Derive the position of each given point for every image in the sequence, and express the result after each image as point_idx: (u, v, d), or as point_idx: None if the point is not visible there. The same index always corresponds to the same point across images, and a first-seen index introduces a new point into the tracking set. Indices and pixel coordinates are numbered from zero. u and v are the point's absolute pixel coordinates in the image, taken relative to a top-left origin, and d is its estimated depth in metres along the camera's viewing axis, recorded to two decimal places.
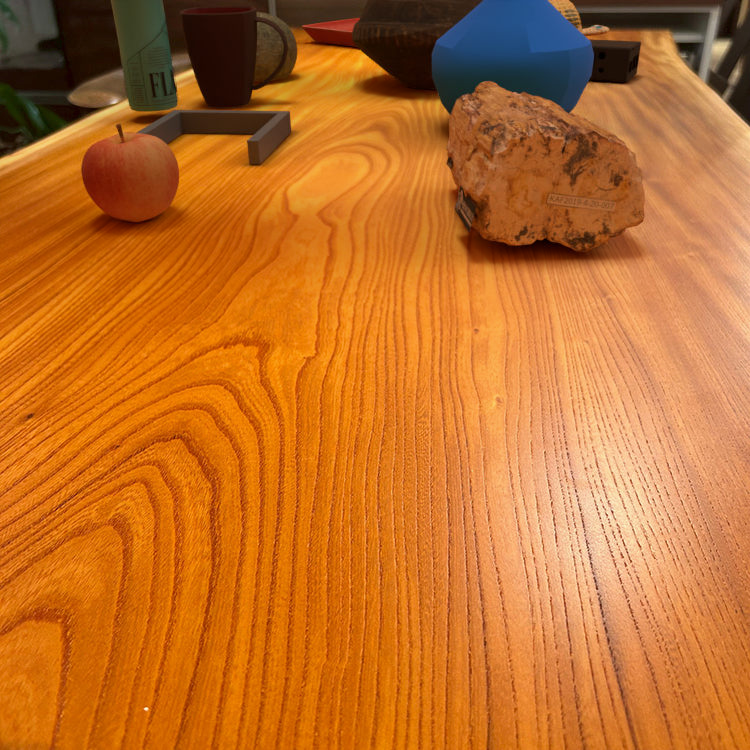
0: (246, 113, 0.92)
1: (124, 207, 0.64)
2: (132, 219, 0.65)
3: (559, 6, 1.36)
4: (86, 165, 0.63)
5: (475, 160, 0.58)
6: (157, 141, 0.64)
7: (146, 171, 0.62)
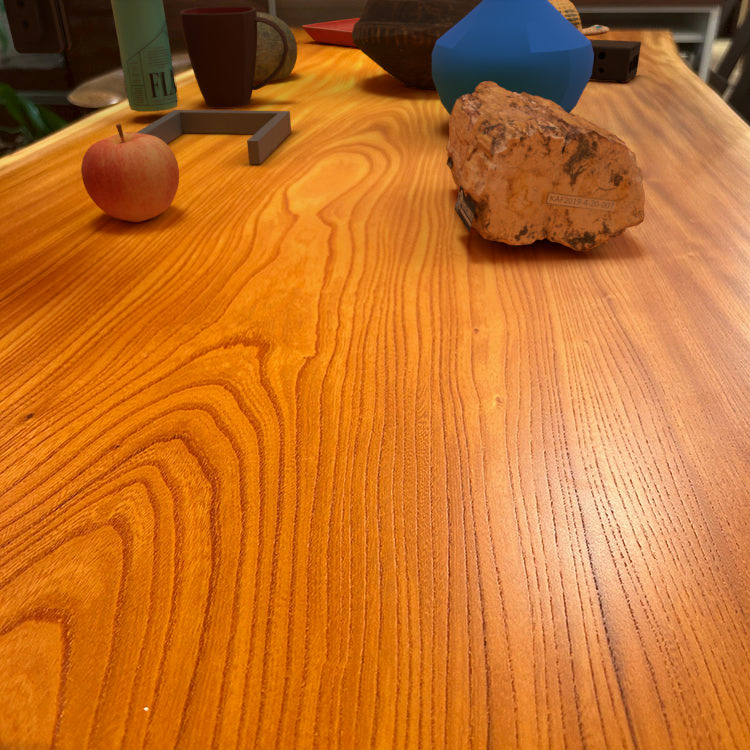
0: (246, 113, 0.92)
1: (124, 207, 0.64)
2: (132, 219, 0.65)
3: (559, 6, 1.36)
4: (86, 165, 0.63)
5: (475, 160, 0.58)
6: (157, 141, 0.64)
7: (146, 171, 0.62)
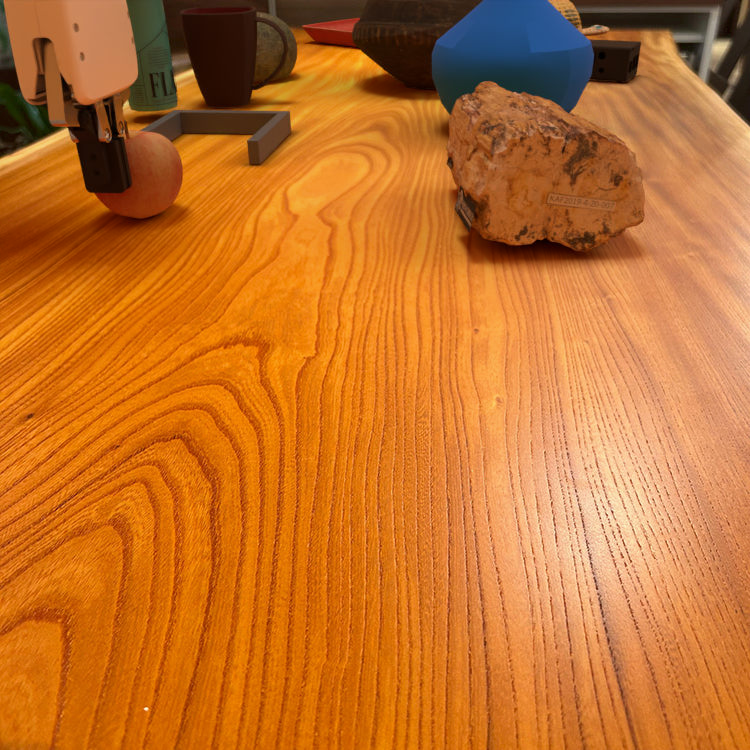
0: (246, 113, 0.92)
1: (129, 203, 0.64)
2: (136, 215, 0.65)
3: (559, 6, 1.36)
4: None
5: (475, 160, 0.58)
6: (162, 138, 0.65)
7: (152, 166, 0.63)
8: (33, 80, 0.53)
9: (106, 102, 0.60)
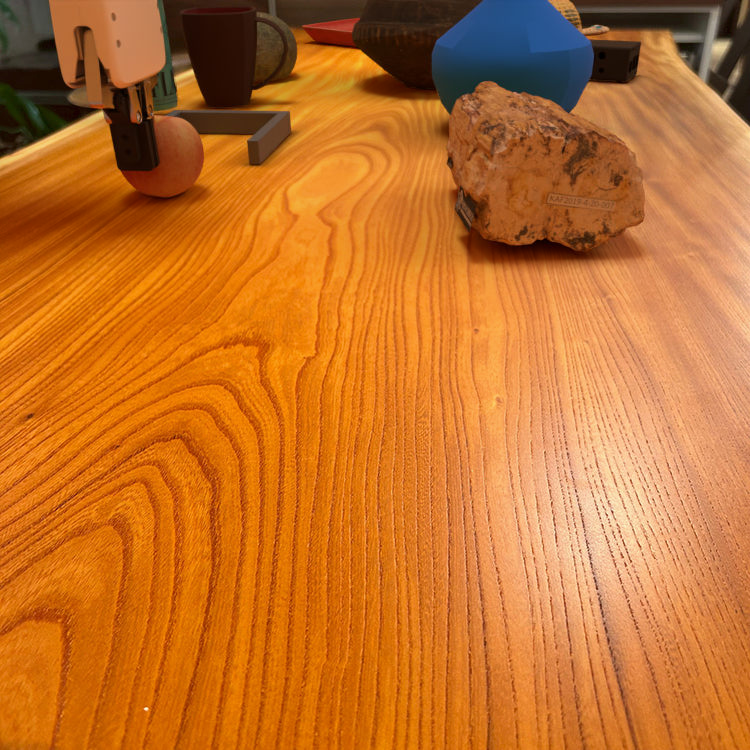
0: (246, 113, 0.92)
1: (156, 182, 0.69)
2: (162, 194, 0.71)
3: (559, 6, 1.36)
4: None
5: (475, 160, 0.58)
6: (185, 122, 0.70)
7: (178, 149, 0.68)
8: (73, 65, 0.58)
9: (136, 87, 0.65)
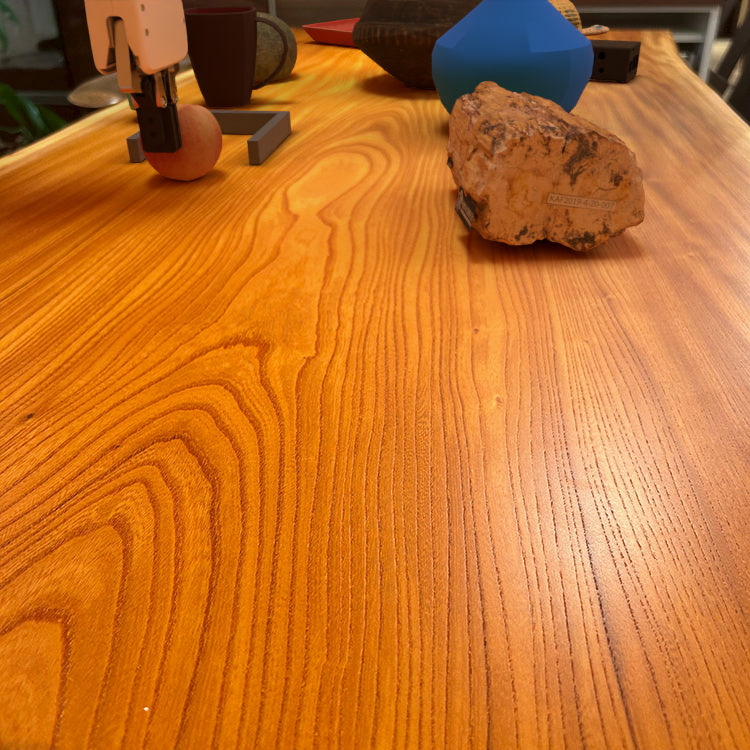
0: (246, 113, 0.92)
1: (180, 167, 0.74)
2: (185, 177, 0.75)
3: (559, 6, 1.36)
4: None
5: (475, 160, 0.58)
6: (205, 109, 0.74)
7: (199, 135, 0.73)
8: (105, 53, 0.62)
9: (161, 74, 0.70)
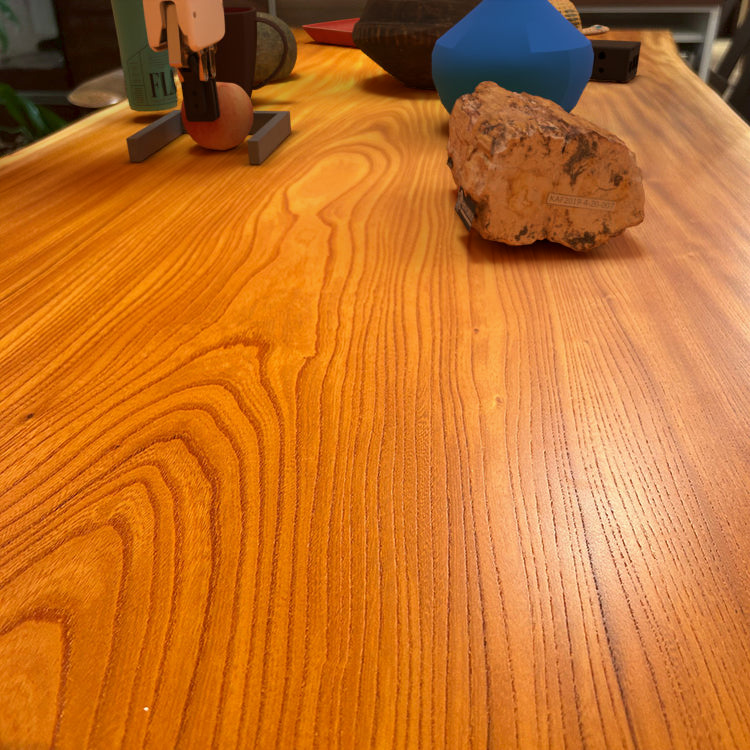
0: None
1: (217, 137, 0.84)
2: (221, 147, 0.85)
3: (559, 6, 1.36)
4: None
5: (475, 160, 0.58)
6: (239, 86, 0.84)
7: (235, 108, 0.83)
8: (158, 32, 0.72)
9: None
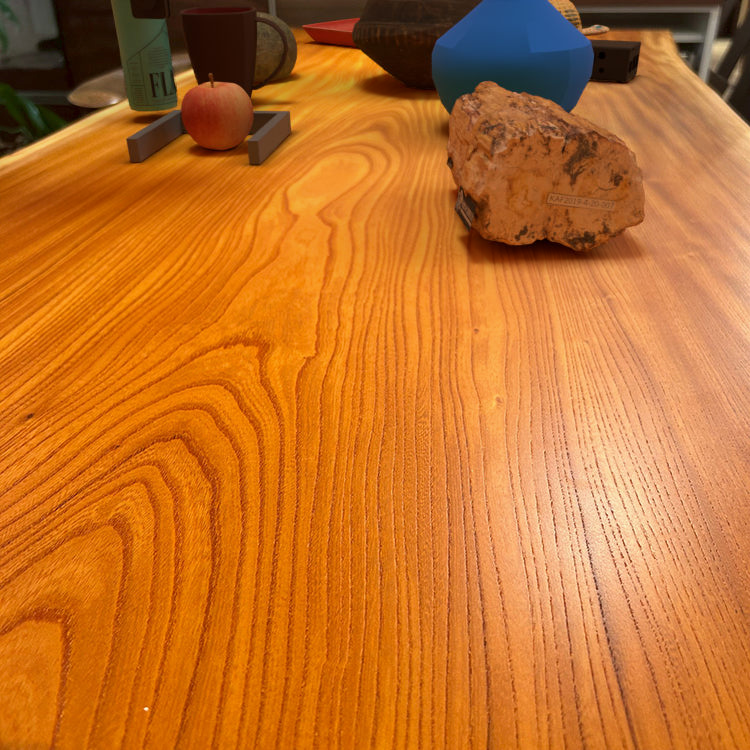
0: None
1: (217, 137, 0.84)
2: (221, 147, 0.85)
3: (559, 6, 1.36)
4: (188, 105, 0.83)
5: (475, 160, 0.58)
6: (239, 86, 0.84)
7: (235, 108, 0.83)
8: None
9: None
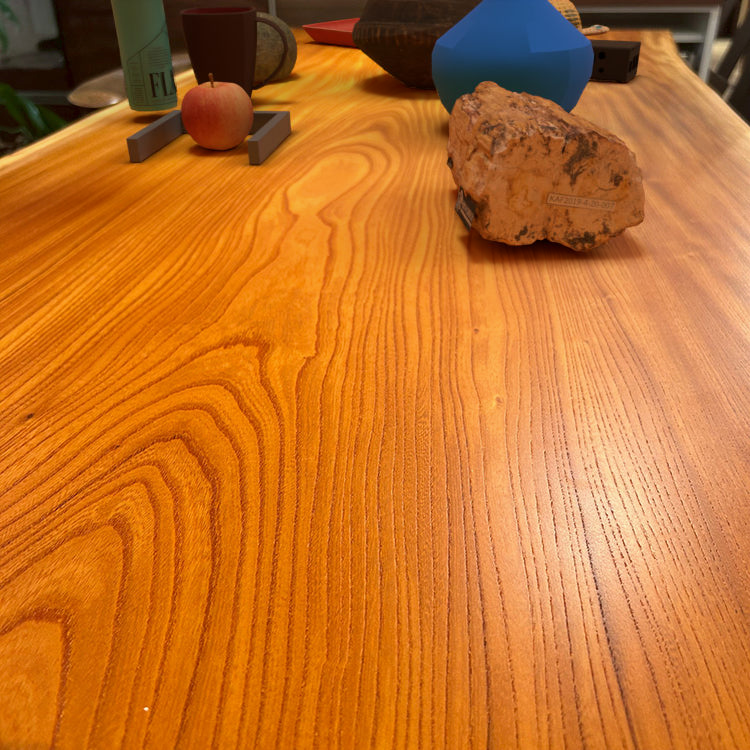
0: None
1: (217, 137, 0.84)
2: (221, 147, 0.85)
3: (559, 6, 1.36)
4: (188, 105, 0.83)
5: (475, 160, 0.58)
6: (239, 86, 0.84)
7: (235, 108, 0.83)
8: None
9: None
